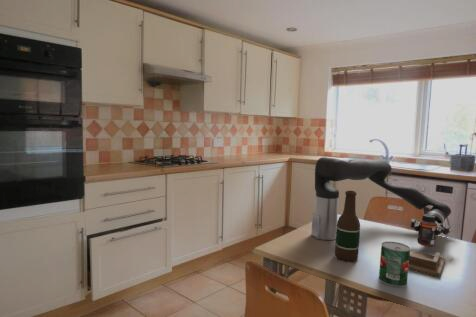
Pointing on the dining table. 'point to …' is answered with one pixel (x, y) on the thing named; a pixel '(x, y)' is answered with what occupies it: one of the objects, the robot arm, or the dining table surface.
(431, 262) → the walnut dock
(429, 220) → the supplement bottle
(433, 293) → the dining table surface
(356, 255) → the beer bottle
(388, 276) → the canned tomato
